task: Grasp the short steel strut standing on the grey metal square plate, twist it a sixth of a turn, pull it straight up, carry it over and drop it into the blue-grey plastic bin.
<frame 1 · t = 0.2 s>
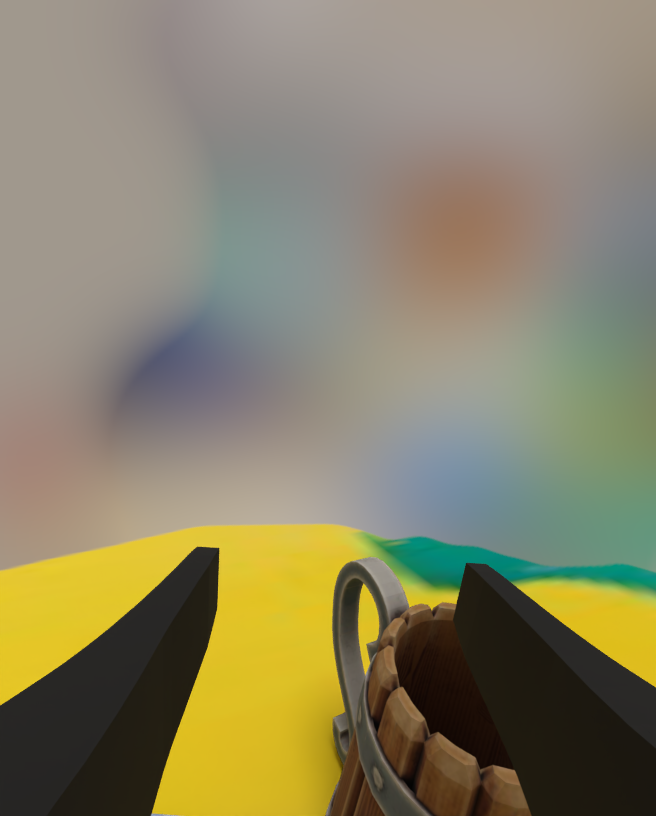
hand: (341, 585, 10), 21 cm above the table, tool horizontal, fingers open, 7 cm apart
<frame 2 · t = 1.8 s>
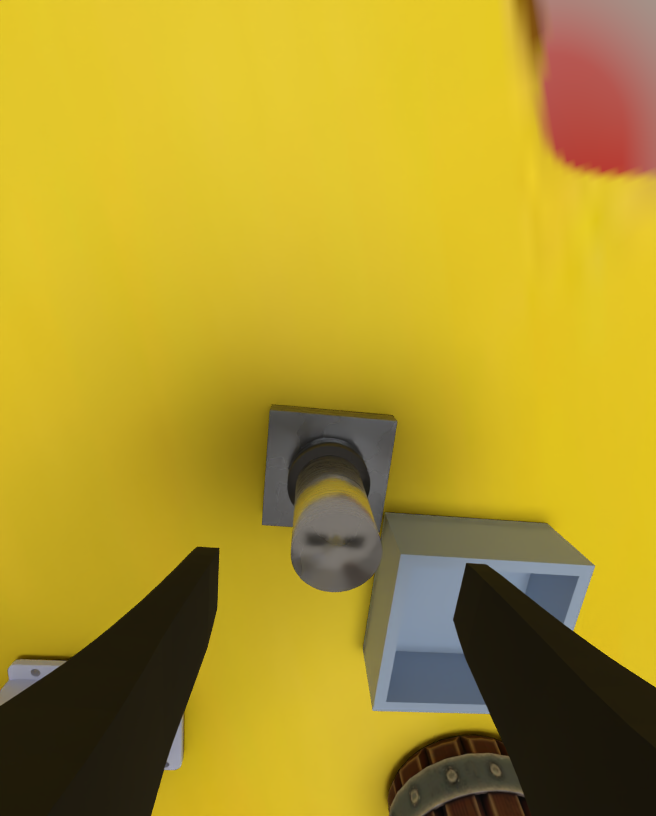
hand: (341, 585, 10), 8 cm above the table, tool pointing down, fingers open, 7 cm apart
grey metal square plate: (326, 466, 19), on the table
bin: (451, 588, 21), on the table
strut: (327, 474, 18), point 1 cm above the table, touching grey metal square plate
mug: (492, 770, 25), on the table
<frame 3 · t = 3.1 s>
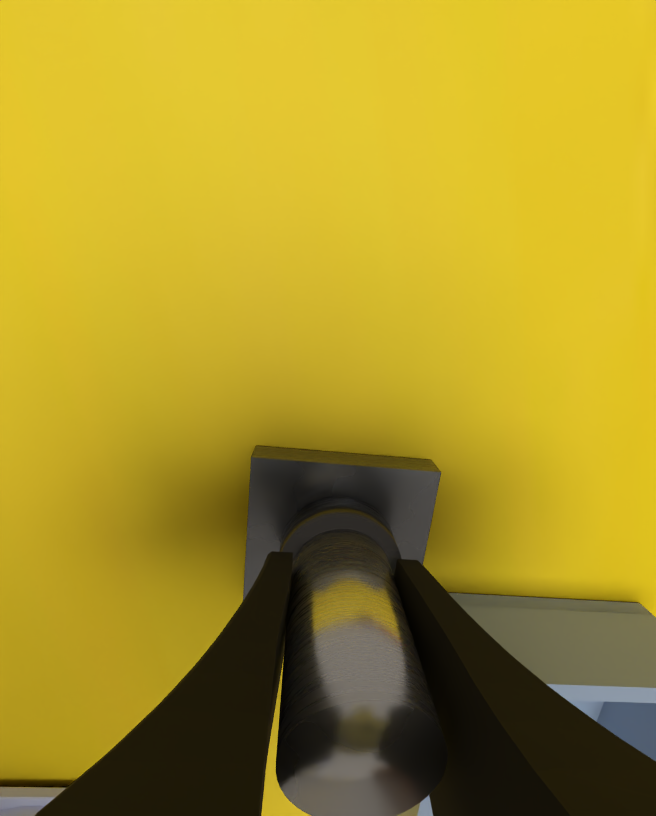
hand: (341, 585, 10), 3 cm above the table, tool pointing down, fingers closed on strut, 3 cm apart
grey metal square plate: (335, 530, 13), on the table
bin: (503, 687, 15), on the table
strut: (337, 547, 12), point 1 cm above the table, touching gripper, grey metal square plate
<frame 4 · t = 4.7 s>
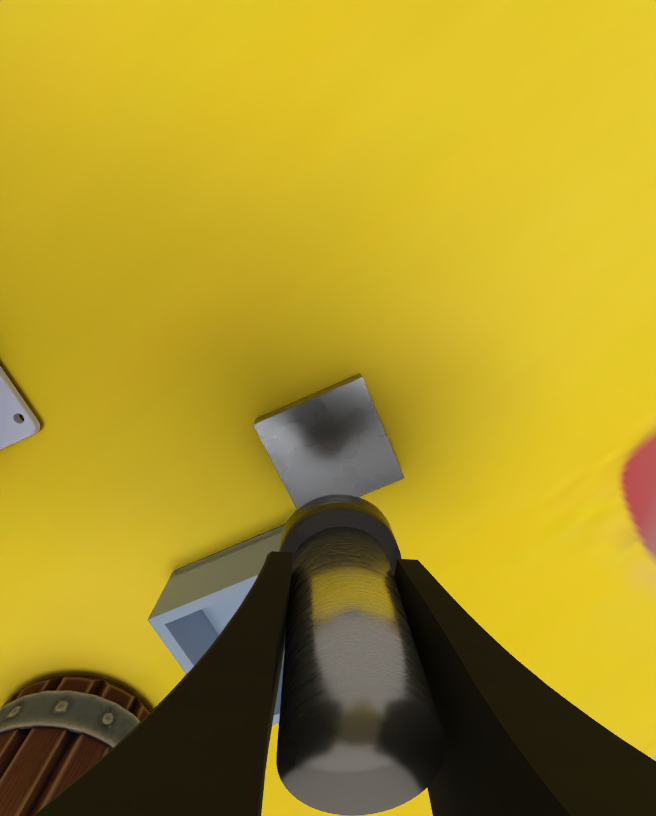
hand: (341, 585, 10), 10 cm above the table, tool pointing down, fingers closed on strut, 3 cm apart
grey metal square plate: (330, 445, 20), on the table
bin: (277, 600, 22), on the table
strut: (337, 545, 12), point 8 cm above the table, touching gripper
mug: (118, 742, 25), on the table
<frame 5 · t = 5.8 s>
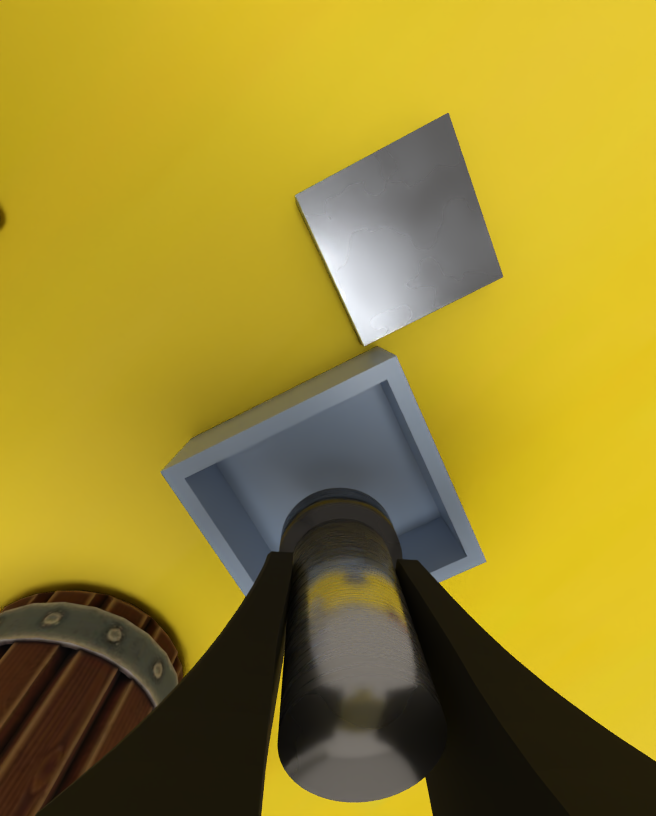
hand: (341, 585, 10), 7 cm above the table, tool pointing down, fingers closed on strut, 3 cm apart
grey metal square plate: (397, 242, 15), on the table
bin: (328, 478, 17), on the table
strut: (337, 539, 12), point 5 cm above the table, touching gripper
mug: (131, 681, 20), on the table
when the fingers open (4 cm above the table, at t = 6.5 s): strut drops 2 cm, resting on bin.
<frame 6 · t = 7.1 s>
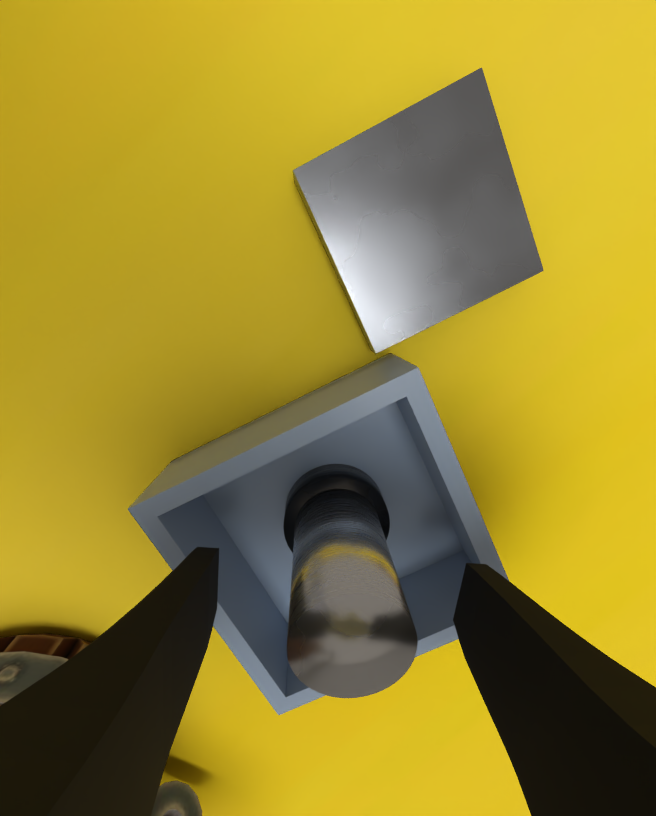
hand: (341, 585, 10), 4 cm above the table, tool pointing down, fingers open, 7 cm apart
grey metal square plate: (415, 229, 12), on the table
bin: (332, 506, 15), on the table
strut: (334, 509, 14), point 1 cm above the table, touching bin
mug: (107, 731, 18), on the table
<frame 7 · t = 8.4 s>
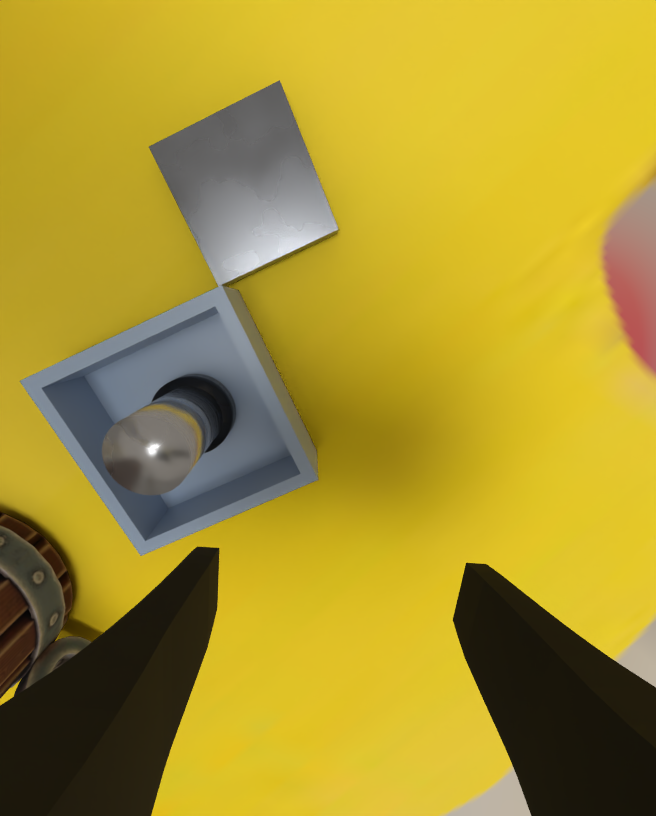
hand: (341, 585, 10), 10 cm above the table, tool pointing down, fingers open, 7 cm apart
grey metal square plate: (250, 196, 17), on the table
bin: (200, 411, 19), on the table
strut: (198, 410, 18), point 1 cm above the table, touching bin
mug: (28, 598, 22), on the table
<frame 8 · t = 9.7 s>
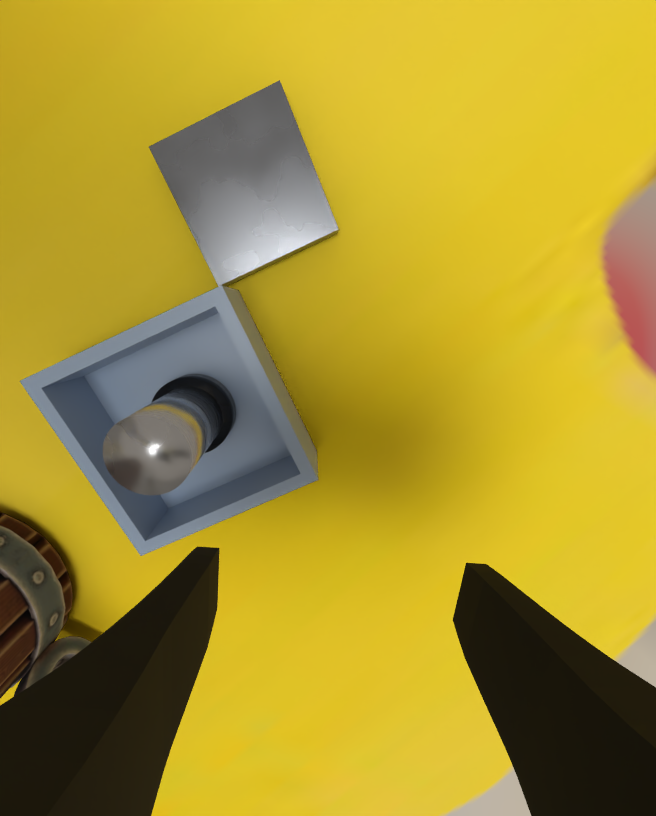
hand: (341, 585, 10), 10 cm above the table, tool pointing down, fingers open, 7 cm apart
grey metal square plate: (250, 196, 17), on the table
bin: (200, 411, 19), on the table
strut: (198, 410, 18), point 1 cm above the table, touching bin
mug: (28, 599, 22), on the table
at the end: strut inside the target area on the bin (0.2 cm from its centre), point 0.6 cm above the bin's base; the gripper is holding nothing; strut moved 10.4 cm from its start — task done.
